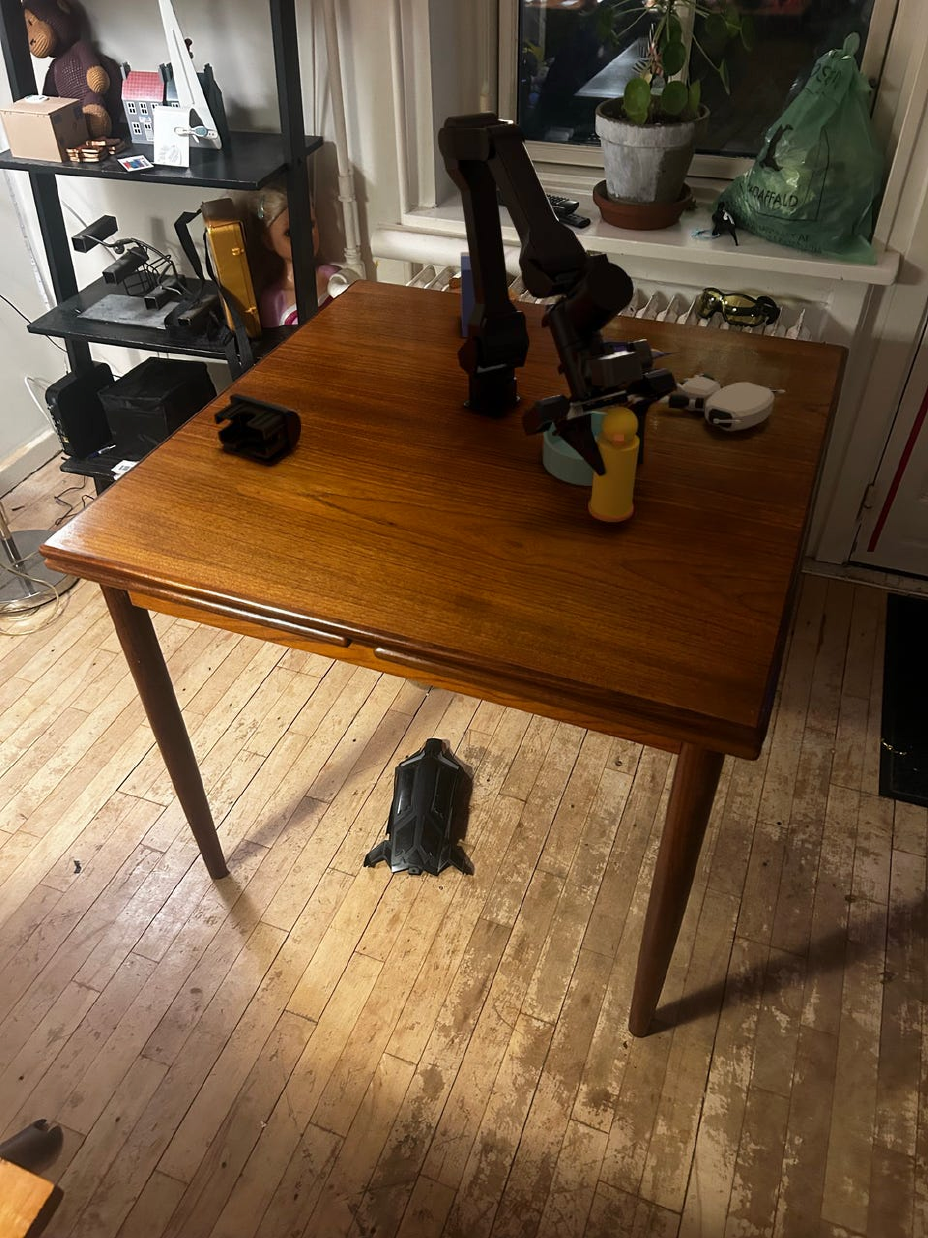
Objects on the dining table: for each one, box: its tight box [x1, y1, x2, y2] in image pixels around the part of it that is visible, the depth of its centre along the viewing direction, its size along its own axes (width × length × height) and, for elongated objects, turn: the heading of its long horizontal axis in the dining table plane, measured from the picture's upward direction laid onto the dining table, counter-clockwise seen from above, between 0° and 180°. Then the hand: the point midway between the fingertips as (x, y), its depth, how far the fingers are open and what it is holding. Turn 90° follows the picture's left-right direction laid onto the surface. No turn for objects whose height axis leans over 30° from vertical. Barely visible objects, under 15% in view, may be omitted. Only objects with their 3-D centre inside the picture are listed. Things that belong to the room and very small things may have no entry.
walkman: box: [460, 251, 475, 338], centre depth 158 cm, size 8×3×12 cm, turn 1°
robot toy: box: [657, 373, 786, 432], centre depth 136 cm, size 12×4×15 cm
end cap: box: [213, 393, 302, 467], centre depth 130 cm, size 10×7×7 cm
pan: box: [541, 411, 607, 487], centre depth 127 cm, size 13×13×4 cm
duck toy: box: [587, 406, 639, 523], centre depth 112 cm, size 6×6×14 cm
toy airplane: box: [604, 339, 682, 382], centre depth 147 cm, size 13×14×4 cm
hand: (621, 469), depth 111 cm, fingers closed on duck toy, 5 cm apart
